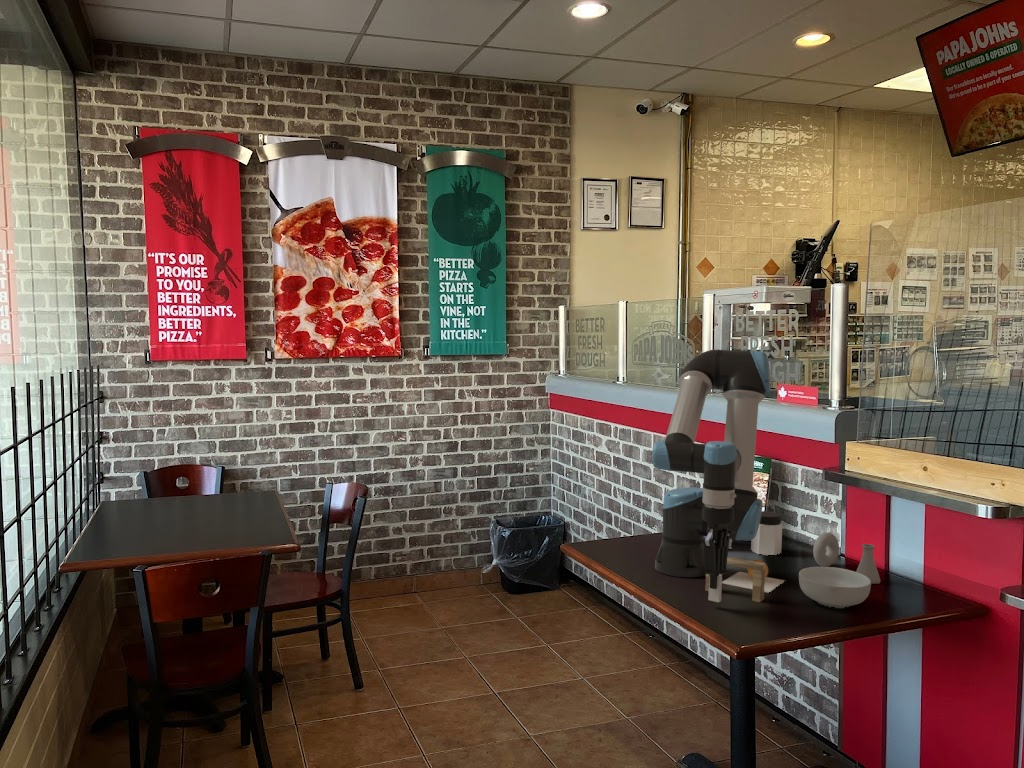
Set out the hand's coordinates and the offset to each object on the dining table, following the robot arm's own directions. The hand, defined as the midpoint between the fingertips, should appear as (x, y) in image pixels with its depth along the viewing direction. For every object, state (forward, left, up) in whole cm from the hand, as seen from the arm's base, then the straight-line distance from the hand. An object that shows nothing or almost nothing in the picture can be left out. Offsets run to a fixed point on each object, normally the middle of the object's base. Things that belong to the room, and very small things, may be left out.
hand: (714, 600), depth 203 cm
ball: (0, +30, +1) cm, 30 cm away
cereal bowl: (+22, +23, -2) cm, 32 cm away
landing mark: (0, +27, -2) cm, 27 cm away
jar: (-8, +60, -2) cm, 61 cm away
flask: (+24, +49, -2) cm, 55 cm away
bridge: (0, +13, -2) cm, 13 cm away
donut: (+11, +56, -2) cm, 57 cm away
